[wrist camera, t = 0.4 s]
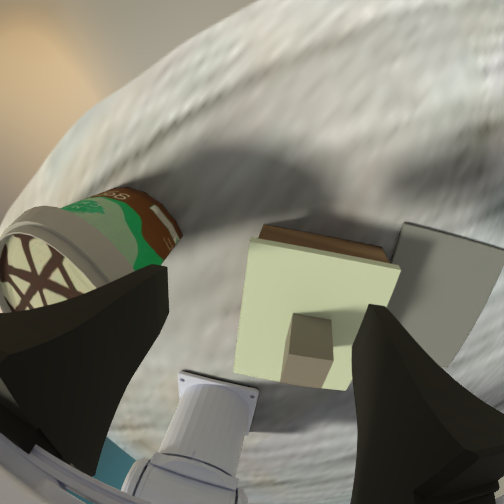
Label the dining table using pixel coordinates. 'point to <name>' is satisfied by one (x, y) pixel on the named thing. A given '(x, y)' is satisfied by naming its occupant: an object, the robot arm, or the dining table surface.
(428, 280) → the mat
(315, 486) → the dining table surface
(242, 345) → the lid
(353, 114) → the dining table surface
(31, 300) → the food container
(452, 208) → the dining table surface
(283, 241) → the box
